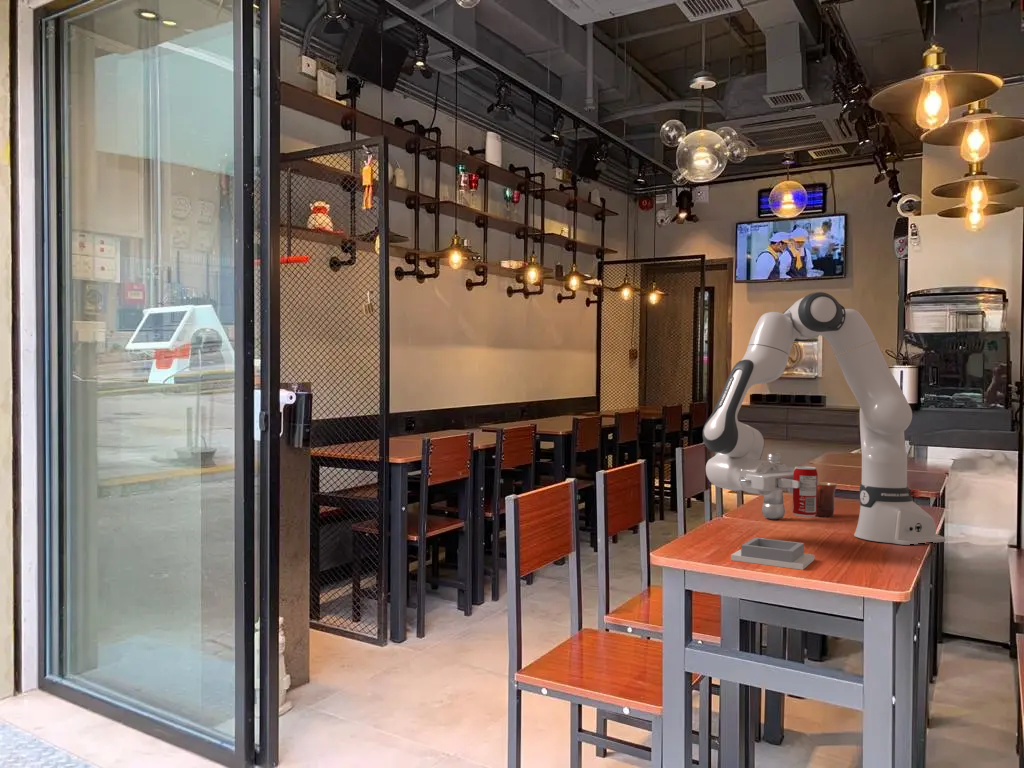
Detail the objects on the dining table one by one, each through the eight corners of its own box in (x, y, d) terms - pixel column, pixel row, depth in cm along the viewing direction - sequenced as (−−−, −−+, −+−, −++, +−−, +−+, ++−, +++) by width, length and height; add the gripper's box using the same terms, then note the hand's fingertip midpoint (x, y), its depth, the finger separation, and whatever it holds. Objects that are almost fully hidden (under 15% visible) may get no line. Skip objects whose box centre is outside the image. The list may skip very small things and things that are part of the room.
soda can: (801, 512, 192) (802, 464, 192) (821, 515, 187) (822, 466, 187) (787, 514, 189) (788, 465, 189) (807, 517, 184) (808, 467, 184)
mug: (810, 512, 249) (810, 480, 249) (838, 515, 245) (839, 483, 245) (801, 517, 239) (802, 484, 239) (831, 520, 235) (831, 486, 235)
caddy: (745, 551, 188) (745, 536, 188) (814, 560, 180) (814, 544, 180) (730, 560, 178) (731, 544, 178) (802, 569, 169) (803, 553, 169)
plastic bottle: (787, 521, 232) (788, 455, 232) (765, 520, 232) (766, 454, 233) (780, 517, 239) (781, 453, 239) (758, 517, 239) (759, 452, 239)
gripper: (734, 467, 193) (782, 473, 181) (784, 463, 204) (832, 468, 193) (734, 492, 193) (781, 499, 181) (784, 487, 204) (832, 493, 193)
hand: (808, 483), depth 187 cm, fingers closed on soda can, 5 cm apart
